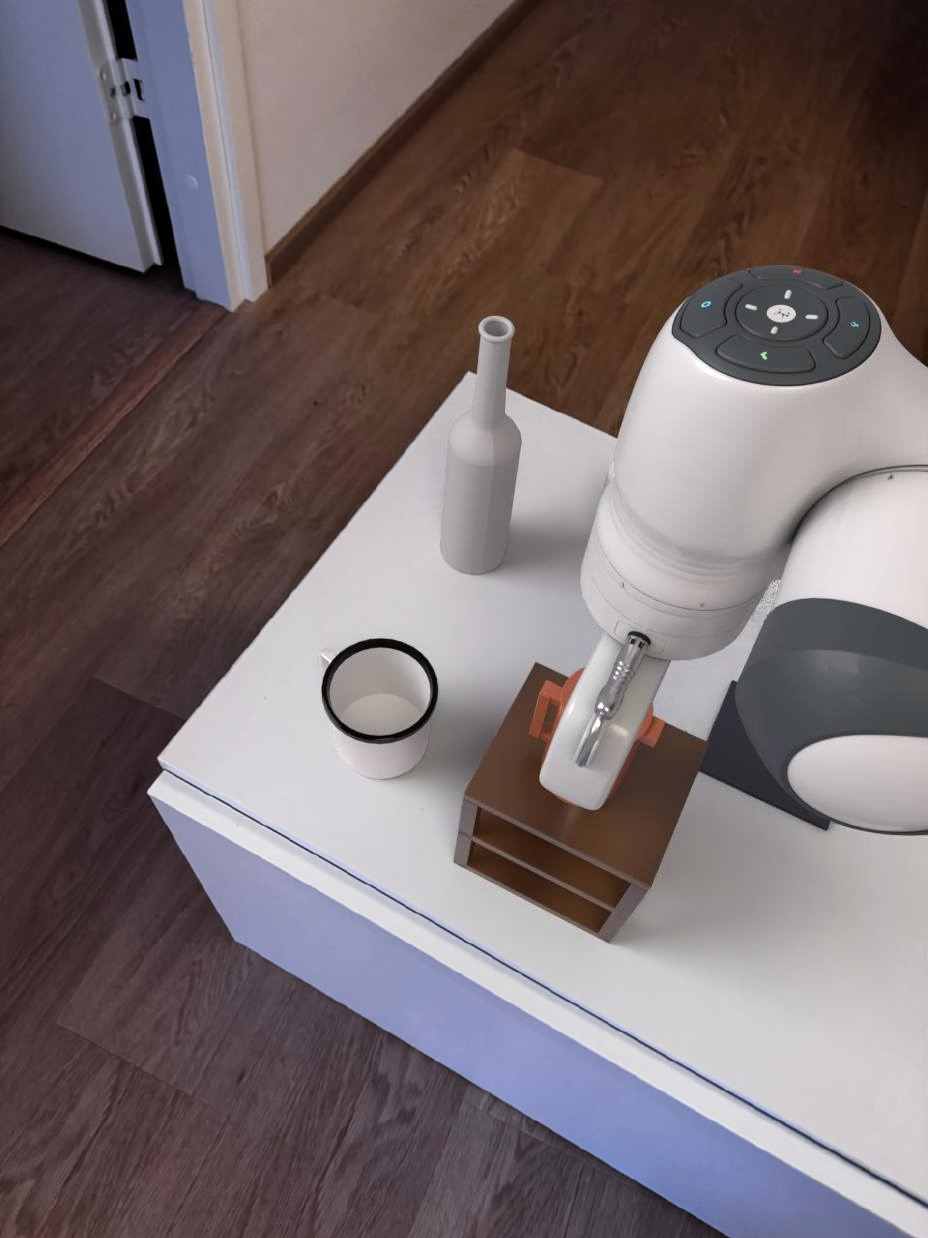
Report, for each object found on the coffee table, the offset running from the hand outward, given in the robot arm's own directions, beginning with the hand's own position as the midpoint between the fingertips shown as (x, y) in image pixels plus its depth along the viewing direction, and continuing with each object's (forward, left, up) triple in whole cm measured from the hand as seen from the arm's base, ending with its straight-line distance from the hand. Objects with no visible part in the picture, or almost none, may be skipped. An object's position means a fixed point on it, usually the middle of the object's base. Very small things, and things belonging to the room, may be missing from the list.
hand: (618, 697), depth 60 cm
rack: (0, 0, -26) cm, 26 cm away
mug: (+19, -2, -26) cm, 32 cm away
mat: (-14, -17, -26) cm, 34 cm away
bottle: (+20, -24, -26) cm, 40 cm away
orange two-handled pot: (0, 0, -11) cm, 11 cm away
